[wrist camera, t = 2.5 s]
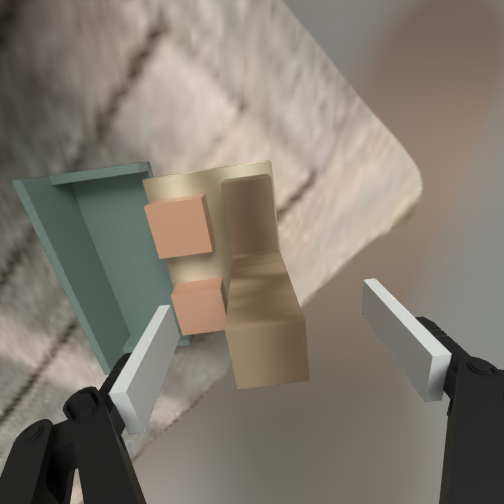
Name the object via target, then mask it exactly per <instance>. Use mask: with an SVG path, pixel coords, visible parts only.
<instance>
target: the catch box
mask: <svg viewBox="0 0 504 504" xmlns="http://www.w3.org/2000/svg"><path fill="white" fill-rule="evenodd" d="M152 177H153V175H152V171H151V167H150V164H149V162H143V163H134V164H127V165H120V166H114V167H107V168H100V169H93V170H87V171H80V172H73V173H66V174H60V175H53V176H45V177H37V178H28V179H20V180H13V181H11V182H12V184H13V186H14V188H15V190H16V192H17V194H18V196H19V198H20V200H21V202H22V204H23V206H24V208H25V211H26V213H27V215H28V217H29V219H30V221H31V223H32V225H33V227H34V229H35V231H36V233H37V235H38V237H39V239H40V242H41V244H42V246H43V248H44V250H45V252H46V254H47V256H48V258H49V260H50V262H51V264H52V266H53V268H54V270H55V273H56V275H57V277H58V279H59V281H60V283H61V285H62V287H63V289H64V291H65V293H66V295H67V297H68V299H69V301H70V304H71V306H72V308H73V310H74V312H75V314H76V316H77V318H78V320H79V322H80V324H81V326H82V328H83V330H84V332H85V335H86V337H87V339H88V341H89V343H90V345H91V347H92V349H93V351H94V353H95V355H96V357H97V359H98V361H99V363H100V366H101V368H102V370H103V372H104V374H105V375H107V374H110V372H111V371H112V370H113V367H114V366H115V364H116V363H117V361H118V360H119V359H120V358H121V357H122V356H123V355H124V354H125V353H131V352H133V351H134V349H135V347H136V345H137V344H138V342H139V340H140V339H141V337H142V335H143V333H144V332H145V330H146V328H147V326H148V325H149V323H150V321H151V319H152V318H153V316H154V314H155V313H156V311H157V309H158V307H159V306H163V305H171V309H172V312H173V315H174V318H175V322H176V325H177V328H178V332H179V335H180V338H179V341H178V343H177V346H176V347H178V346H186V345H190V344H191V341H192V337H193V334H192V335H184V336H183V335H182V332H181V328H180V325H179V322H178V318H177V315H176V312H175V309H174V305H173V302H172V299H171V294H172V292H173V290H174V288H173V284H172V281H171V277H170V274H169V270H168V267H167V264H166V260H165V258H164V259H159V255H158V252H157V249H156V245H155V242H154V239H153V236H152V232H151V229H150V226H149V222H148V219H147V216H146V212H145V209H144V206H145V205H147V204H149V202H148V199H147V195H146V192H145V188H144V185H143V182H142V180H145V179H148V178H152Z"/></svg>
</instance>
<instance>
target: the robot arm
mask: <svg viewBox="0 0 504 504" xmlns="http://www.w3.org/2000/svg"><path fill="white" fill-rule="evenodd" d="M362 315H363V316H364V317H365V319H366V320H367V322H368V323H369V325H370V326H371V327H372V329H373V330H374V332H375V333H376V334H377V336H378V337H379V338H380V340H381V341H382V343H383V344H384V346H385V347H386V348H387V350H388V351H389V353H390V354H391V356H392V357H393V358H394V360H395V361H396V362H397V364H398V365H399V367H400V368H401V370H402V371H403V372H404V374H405V375H406V377H407V378H408V379H409V381H410V382H411V384H412V385H413V386H414V388H415V389H416V391H417V392H418V394H419V395H420V396H421V398H422V399H423V400H424V402H430V401H439V400H442V396H443V391H444V392H445V393H446V394H447V395H448V396H449V398H450V403H449V407H448V412H447V416H448V422H447V431H446V441H445V451H444V461H443V471H442V482H441V490H440V491H441V492H440V500H439V504H504V370H500V369H497V368H496V367H495V366H494V365H492V364H491V363H489V362H487V361H485V360H483V359H480V358H476V357H471V356H470V355H469V354H468V353H466V351H464V350H463V349H462V348H461V347H460V346H459V345H458V344H457V343H456V342H455V341H453V340H452V339H451V338H450V337H449V336H447V334H446V333H444V331H442V330H441V329H440V328H439V327H438V326H437V325H436V324H435V323H434V322H432V321H430V320H428V319H427V318H425V317H414V316H412V315H411V314H410V313H409V312H408V311H407V310H406V309H405V308H404V307H403V306H402V305H401V304H400V303H399V302H398V301H397V300H396V299H395V298H394V297H393V296H392V295H391V294H390V293H389V292H388V291H387V290H386V289H385V288H384V287H383V286H382V285H381V284H380V283H379V282H378V281H377V280H376V279H368V280H364V281H363V305H362ZM179 338H180V335H179V332H178V328H177V325H176V322H175V318H174V315H173V312H172V309H171V305H163V306H159V307H158V309H157V311H156V313H155V314H154V316H153V318H152V319H151V321H150V323H149V325H148V326H147V328H146V330H145V332H144V333H143V335H142V337H141V339H140V340H139V342H138V344H137V345H136V347H135V349H134V351H133V352H131V353H125V354H124V355H123V356H122V357H121V358H120V359H119V360H118V361H117V363H116V364H115V366H114V367H113V370H112V371H111V372H110V374H109V377H107V379H106V380H105V382H104V383H103V385H102V387H101V388H100V390H99V391H98V390H97V388H96V387H92V386H91V387H86V388H83V389H81V390H79V391H77V392H76V393H75V394H73V395H72V396H71V397H70V398H69V399H68V400H67V401H66V403H65V404H64V407H63V412H64V414H65V415H66V417H67V418H68V420H66V421H63V422H60V423H58V424H55V425H53V423H52V422H51V421H50V420H49V419H43V420H40V421H37V422H35V423H33V424H32V425H30V426H29V427H27V428H26V429H25V430H24V431H22V433H21V434H20V435H19V436H18V437H17V438H16V440H15V442H14V443H13V446H12V448H11V451H10V454H9V456H8V459H7V461H6V464H5V467H4V469H3V472H2V474H1V477H0V504H70V500H71V493H72V486H73V480H74V473H75V469H77V468H78V470H79V476H80V482H81V488H82V494H83V500H84V504H146V501H145V498H144V496H143V493H142V490H141V487H140V485H139V482H138V479H137V477H136V474H135V471H134V468H133V465H132V462H131V460H130V457H129V454H128V451H127V449H126V446H125V443H124V440H123V438H122V436H121V434H122V432H123V430H124V428H125V427H126V429H127V431H128V433H129V434H137V433H145V430H146V428H147V425H148V422H149V420H150V417H151V414H152V411H153V409H154V406H155V403H156V401H157V398H158V395H159V392H160V390H161V387H162V384H163V382H164V379H165V376H166V373H167V371H168V368H169V365H170V362H171V360H172V357H173V354H174V352H175V349H176V346H177V343H178V341H179Z"/></svg>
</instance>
